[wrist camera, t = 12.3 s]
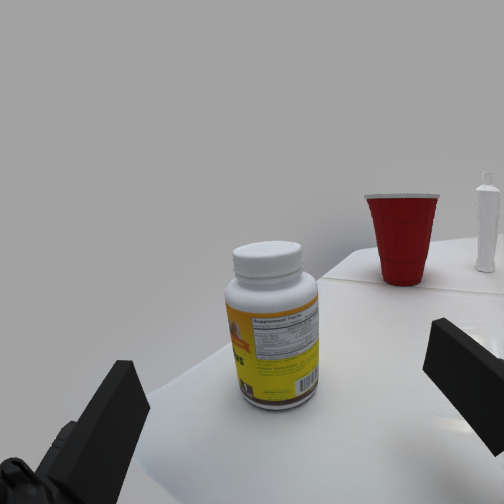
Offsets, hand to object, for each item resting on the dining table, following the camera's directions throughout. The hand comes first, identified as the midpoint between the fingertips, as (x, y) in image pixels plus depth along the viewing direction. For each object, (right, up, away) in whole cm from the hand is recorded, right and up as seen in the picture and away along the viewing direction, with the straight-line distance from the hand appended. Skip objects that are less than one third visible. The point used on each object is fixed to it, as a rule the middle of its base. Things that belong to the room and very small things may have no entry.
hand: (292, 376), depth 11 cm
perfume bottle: (+35, +2, +22) cm, 42 cm away
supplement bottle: (0, -5, +8) cm, 9 cm away
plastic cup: (+19, +1, +25) cm, 32 cm away
